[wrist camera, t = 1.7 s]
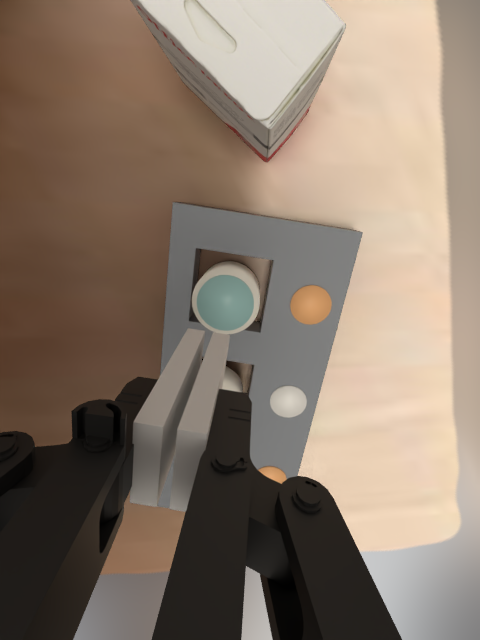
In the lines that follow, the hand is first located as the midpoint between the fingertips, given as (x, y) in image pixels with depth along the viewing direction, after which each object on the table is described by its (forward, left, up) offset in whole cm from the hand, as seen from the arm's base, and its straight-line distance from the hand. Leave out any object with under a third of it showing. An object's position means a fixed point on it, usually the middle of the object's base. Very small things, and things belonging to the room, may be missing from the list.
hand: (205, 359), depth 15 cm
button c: (0, 0, -12) cm, 12 cm away
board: (+2, -9, -14) cm, 17 cm away
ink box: (-1, +14, -15) cm, 20 cm away
